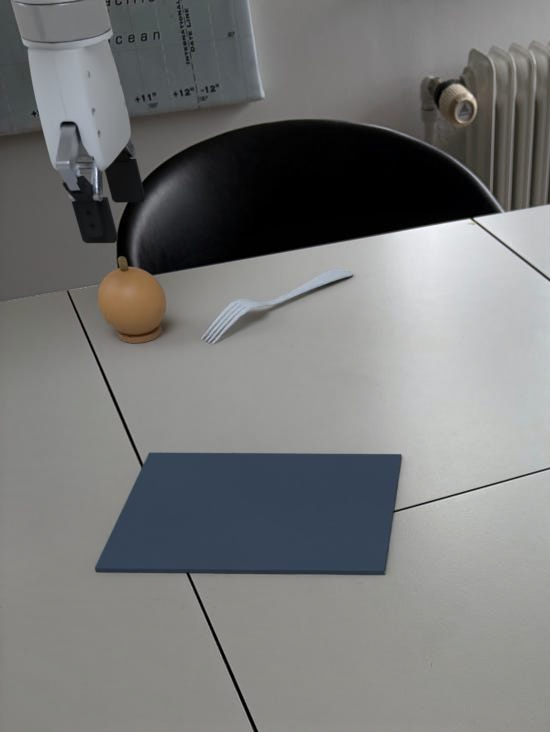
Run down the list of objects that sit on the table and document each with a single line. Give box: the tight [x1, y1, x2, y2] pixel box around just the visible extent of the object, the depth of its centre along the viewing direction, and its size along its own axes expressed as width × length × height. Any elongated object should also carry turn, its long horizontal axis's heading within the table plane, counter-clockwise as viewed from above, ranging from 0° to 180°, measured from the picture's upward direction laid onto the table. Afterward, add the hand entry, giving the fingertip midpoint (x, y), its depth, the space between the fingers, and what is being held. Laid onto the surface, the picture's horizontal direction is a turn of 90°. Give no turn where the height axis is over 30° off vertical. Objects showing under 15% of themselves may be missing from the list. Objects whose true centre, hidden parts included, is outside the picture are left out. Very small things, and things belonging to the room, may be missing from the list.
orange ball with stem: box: [97, 255, 167, 344], centre depth 105 cm, size 7×7×8 cm
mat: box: [94, 451, 403, 576], centre depth 84 cm, size 22×16×1 cm
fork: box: [200, 268, 354, 345], centre depth 112 cm, size 3×21×3 cm, turn 142°
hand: (115, 220), depth 100 cm, fingers open, 9 cm apart
